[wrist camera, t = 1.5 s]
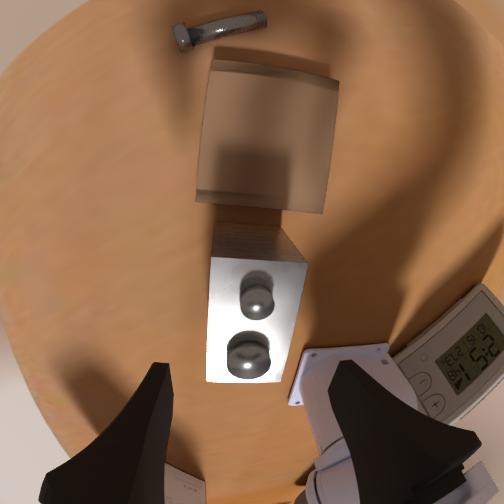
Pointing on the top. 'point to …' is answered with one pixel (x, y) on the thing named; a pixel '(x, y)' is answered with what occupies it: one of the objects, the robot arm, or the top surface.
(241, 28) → the loose bolt
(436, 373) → the digital clock
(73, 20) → the top surface
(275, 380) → the housing
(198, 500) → the hard drive box
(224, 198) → the stand
